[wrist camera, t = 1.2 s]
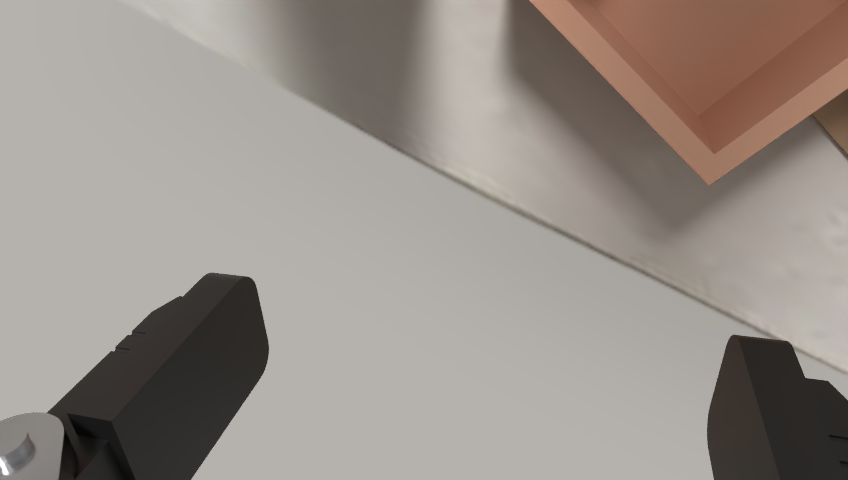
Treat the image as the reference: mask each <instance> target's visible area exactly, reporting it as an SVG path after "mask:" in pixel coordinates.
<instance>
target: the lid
mask: <svg viewBox="0 0 848 480" xmlns="http://www.w3.org/2000/svg"><path fill="white" fill-rule="evenodd" d="M812 115H813V116H814V117H815V118H816V119H817V120H818V121H819V123H820V124H821V125H822V126H823V127H824V128H825V129H826V130H827V132H828V133H829V134H830V135H831V136H832V137H833V138H834V139H835V141H836V142H837V143H838V144H839V145H840V146H841V147H842V149H843V150H844V151H845V152H846V153H847V154H848V89H846V90H845V91H843V92H842V93H840V94H839V95H838V96H836V97H835V98H833V99H832V100H830V101H829V102H828V103H826V104H825V105H823V106H822V107H821V108H819V109H818V110H816V111H815V112H813V113H812Z"/></svg>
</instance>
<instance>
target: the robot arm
mask: <svg viewBox="0 0 848 480" xmlns="http://www.w3.org/2000/svg"><path fill="white" fill-rule="evenodd" d="M268 354H269V345H268V339H267V334H266V329H265V325H264V320H263V315H262V311H261V306H260V301H259V297H258V292H257V288H256V285H255V282H254V281H253V280H252V279H251V278H249V277H245V276H236V275H228V274H219V273H208V274H206V275H205V276H204V277H203V278H201V279H200V280H199V281H198V282H197V283H196V284H195V285H194V286H193V287H192V288H191V290H189V291H188V292H187V293H186V294H185V295H184V296H183V297H181V296H179V297H177V298H175V299H174V300H172V301H170V302H169V303H167V304H165V305H163V306H161V307H160V308H158V309H156V310H154V311H153V312H151V313H150V314H149V315H148V316H147V317H146V318H145V319H144V320H143V321H142V322H141V323H140V324H139V325H138V326H137V327H136V328H135V329H134V330H133V331H132V335H127V336H126V337H125V338H124V340H122V341H121V342H120V343H119V344H118V345H117V346H116V349H115V351H114V352H113V351H111V352H110V353H109V354H108V355H107V356H106V357H105V358H104V359H102V360H101V361H100V362H99V363H98V364H97V365H96V366H95V367H94V368H93V369H92V370H91V371H90V372H89V373H88V374H87V375H86V376H85V377H84V378H83V379H82V380H81V381H80V382H79V383H78V384H76V386H75V387H73V388H72V389H71V390H70V391H69V392H68V393H67V394H66V395H65V396H64V397H63V398H62V399H61V400H60V401H59V402H58V403H57V404H56V405H55V406H54V407H53V408H52V409H50V410H49V411H48V412H47V413H26V414H21V415H16V416H13V417H10V418H7V419H5V420H2V421H0V480H191V479H192V477H193V476H194V474H195V473H196V471H197V470H198V468H199V467H200V466H201V464H202V463H203V461H204V460H205V458H206V457H207V455H208V454H209V452H210V451H211V450H212V448H213V447H214V445H215V444H216V442H217V441H218V439H219V438H220V436H221V435H222V433H223V432H224V430H225V429H226V428H227V426H228V425H229V423H230V422H231V420H232V419H233V417H234V416H235V414H236V413H237V411H238V410H239V409H240V407H241V406H242V404H243V403H244V401H245V400H246V398H247V397H248V395H249V394H250V393H251V391H252V390H253V388H254V387H255V385H256V384H257V382H258V381H259V379H260V378H261V376H262V374H263V372H264V370H265V367H266V364H267V360H268ZM707 425H708V426H707V440H708V449H709V455H710V460H711V465H712V471H713V476H714V480H848V400H847V399H846V398H845V397H844V396H843V395H842V394H841V393H840V392H838V391H837V390H836V388H834V387H833V386H832V385H831V384H830V383H829V382H828V381H824V380H816V379H808V378H805V376H804V374H803V371H802V369H801V366H800V364H799V361H798V359H797V356H796V354H795V352H794V349H793V347H792V345H791V344H790V343H789V342H788V341H782V340H774V339H765V338H757V337H748V336H740V335H732V336H731V337H730V339H729V341H728V343H727V346H726V350H725V353H724V357H723V361H722V364H721V368H720V371H719V375H718V379H717V382H716V386H715V390H714V394H713V397H712V401H711V405H710V409H709V414H708V424H707Z"/></svg>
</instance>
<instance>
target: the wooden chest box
mask: <svg viewBox="0 0 848 480" xmlns="http://www.w3.org/2000/svg"><path fill="white" fill-rule="evenodd" d="M529 1H530V2H531V3H532V4H533V5H534V6H535V7H536V8H537V9H538V10H539V11H540V12H541V13H542V14H543V15H544V16H545V17H546V18H547V19H548V20H549V21H550V22H551V23H552V24H553V25H554V26H555V27H556V29H557V30H558V31H559V32H560V33H561V34H562V35H563V36H564V37H565V38H566V39H567V40H568V41H569V42H570V43H571V44H572V45H573V46H574V47H575V48H576V49H577V50H578V51H579V52H580V53H581V54H582V55H583V56H584V57H585V58H586V60H587V61H588V62H589V63H590V64H591V65H592V66H593V67H594V68H595V69H596V70H597V71H598V72H599V73H600V74H601V75H602V76H603V77H604V78H605V79H606V80H607V81H608V82H609V83H610V84H611V85H612V86H613V87H614V88H615V89H616V91H617V92H618V93H619V94H620V95H621V96H622V97H623V98H624V99H625V100H626V101H627V102H628V103H629V104H630V105H631V106H632V107H633V108H634V109H635V110H636V111H637V112H638V113H639V114H640V115H641V116H642V117H643V118H644V119H645V120H646V121H647V123H648V124H649V125H650V126H651V127H652V128H653V129H654V130H655V131H656V132H657V133H658V134H659V135H660V136H661V137H662V138H663V139H664V140H665V141H666V142H667V143H668V144H669V145H670V146H671V147H672V148H673V149H674V150H675V151H676V152H677V154H678V155H679V156H680V157H681V158H682V159H683V160H684V161H685V162H686V163H687V164H688V165H689V166H690V167H691V168H692V169H693V170H694V171H695V172H696V173H697V174H698V175H699V176H700V177H701V178H702V179H703V180H704V181H705V182H706V183H707V185H708V186H709V185H711V184H712V183H714V182H715V181H716V180H718V179H719V178H721V177H722V176H724V175H725V174H726V173H728V172H729V171H731V170H732V169H734V168H735V167H736V166H738V165H739V164H741V163H742V162H744V161H745V160H746V159H748V158H749V157H751V156H752V155H754V154H755V153H756V152H758V151H759V150H761V149H762V148H763V147H765V146H766V145H768V144H769V143H771V142H772V141H773V140H775V139H776V138H778V137H779V136H781V135H782V134H783V133H785V132H786V131H788V130H789V129H791V128H792V127H793V126H795V125H796V124H798V123H799V122H801V121H802V120H803V119H805V118H806V117H808V116H809V115H811V114H812V113H813V112H815V111H816V110H818V109H819V108H821V107H822V106H823V105H825V104H826V103H828V102H829V101H830V100H832V99H833V98H835V97H836V96H838V95H839V94H840V93H842V92H843V91H845V90H846V89H848V0H529Z"/></svg>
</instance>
